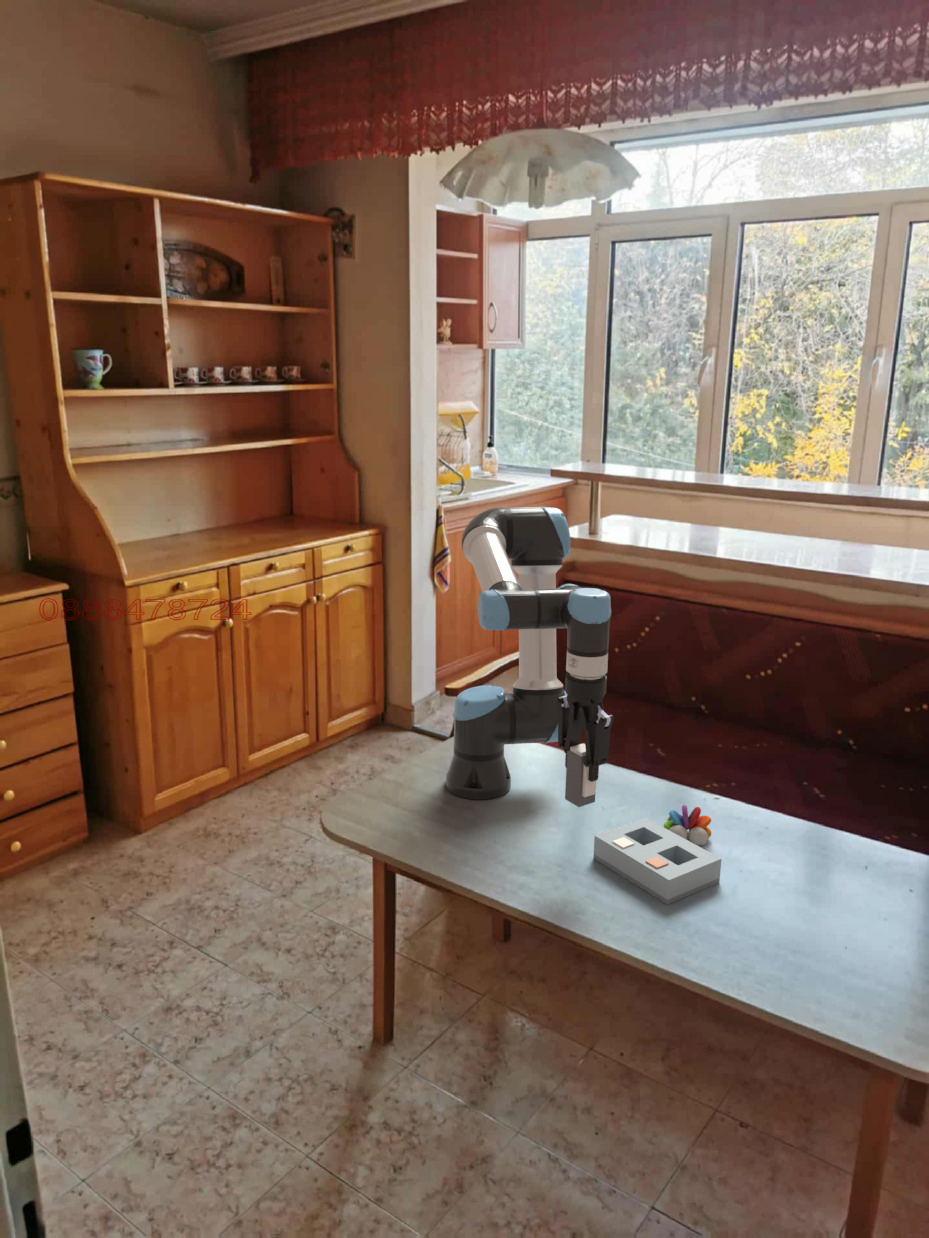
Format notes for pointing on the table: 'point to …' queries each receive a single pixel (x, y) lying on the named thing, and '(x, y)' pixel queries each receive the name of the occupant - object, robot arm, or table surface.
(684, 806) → the rainbow petal fan toy
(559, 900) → the table surface
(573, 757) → the plug
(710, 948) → the table surface
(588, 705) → the robot arm
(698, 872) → the socket box
